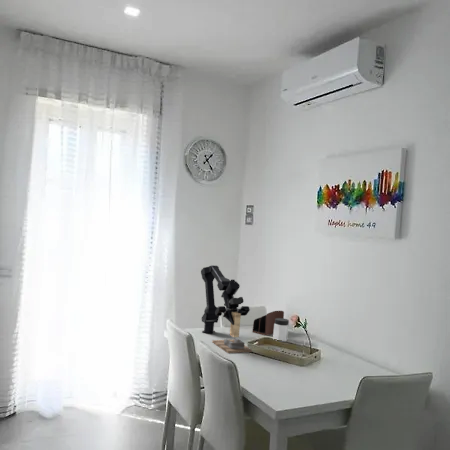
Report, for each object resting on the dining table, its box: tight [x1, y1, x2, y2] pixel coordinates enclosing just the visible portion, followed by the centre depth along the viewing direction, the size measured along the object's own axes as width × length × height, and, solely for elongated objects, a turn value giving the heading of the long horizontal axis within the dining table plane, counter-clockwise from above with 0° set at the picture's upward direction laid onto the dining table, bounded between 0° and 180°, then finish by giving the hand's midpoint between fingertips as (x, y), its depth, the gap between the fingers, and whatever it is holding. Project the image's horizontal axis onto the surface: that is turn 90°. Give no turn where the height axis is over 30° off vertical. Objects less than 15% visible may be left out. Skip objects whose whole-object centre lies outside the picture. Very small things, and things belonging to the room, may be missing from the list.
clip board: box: [211, 337, 253, 354], centre depth 261 cm, size 20×14×4 cm
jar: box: [272, 317, 290, 342], centre depth 287 cm, size 9×8×12 cm
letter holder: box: [252, 310, 285, 337], centre depth 304 cm, size 10×20×14 cm, turn 141°
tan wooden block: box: [229, 312, 242, 338], centre depth 259 cm, size 5×3×12 cm, turn 25°
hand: (236, 324), depth 258 cm, fingers closed on tan wooden block, 3 cm apart
